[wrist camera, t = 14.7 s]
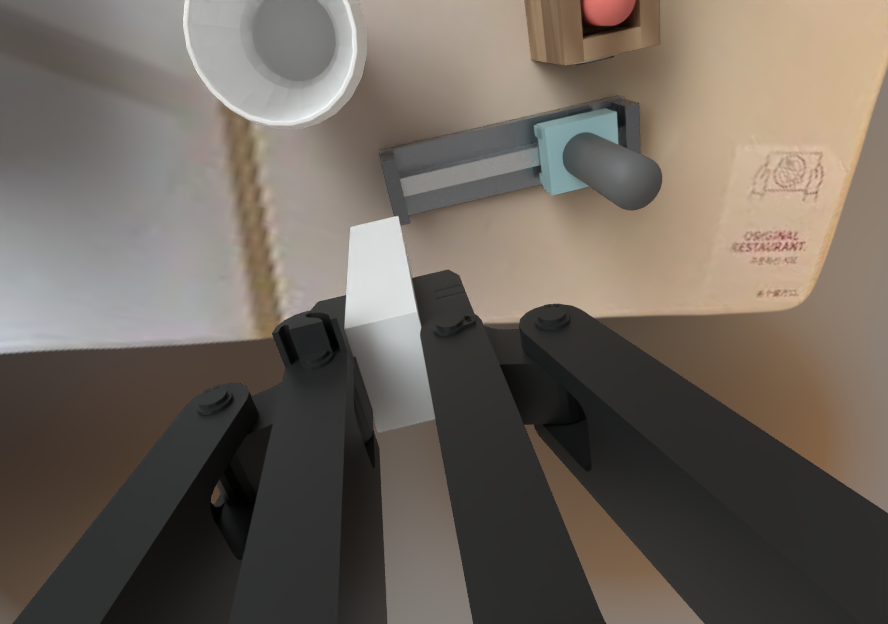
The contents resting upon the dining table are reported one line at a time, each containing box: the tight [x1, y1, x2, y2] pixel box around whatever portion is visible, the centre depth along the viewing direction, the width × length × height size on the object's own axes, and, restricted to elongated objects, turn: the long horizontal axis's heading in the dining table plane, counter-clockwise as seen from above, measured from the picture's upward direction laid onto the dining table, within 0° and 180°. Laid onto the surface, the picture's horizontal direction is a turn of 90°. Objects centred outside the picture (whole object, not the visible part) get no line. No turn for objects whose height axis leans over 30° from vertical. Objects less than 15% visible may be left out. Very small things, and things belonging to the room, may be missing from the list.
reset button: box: [580, 0, 636, 26], centre depth 40 cm, size 3×3×4 cm
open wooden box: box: [525, 0, 660, 66], centre depth 42 cm, size 7×8×9 cm
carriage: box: [534, 108, 662, 210], centre depth 43 cm, size 6×6×13 cm
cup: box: [183, 0, 367, 129], centre depth 38 cm, size 11×11×15 cm
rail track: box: [379, 96, 641, 225], centre depth 49 cm, size 22×6×4 cm, turn 101°
